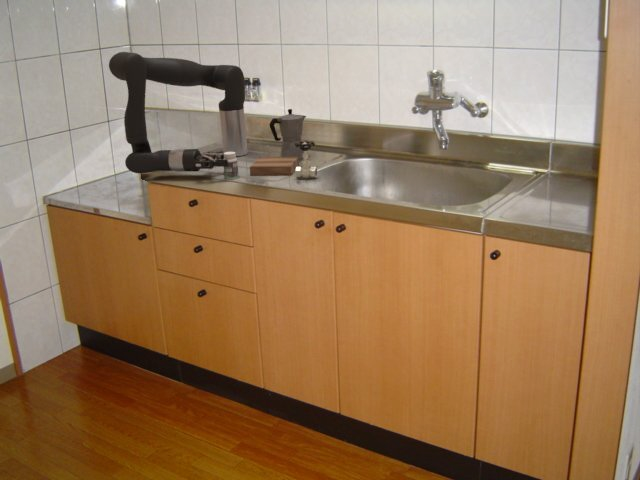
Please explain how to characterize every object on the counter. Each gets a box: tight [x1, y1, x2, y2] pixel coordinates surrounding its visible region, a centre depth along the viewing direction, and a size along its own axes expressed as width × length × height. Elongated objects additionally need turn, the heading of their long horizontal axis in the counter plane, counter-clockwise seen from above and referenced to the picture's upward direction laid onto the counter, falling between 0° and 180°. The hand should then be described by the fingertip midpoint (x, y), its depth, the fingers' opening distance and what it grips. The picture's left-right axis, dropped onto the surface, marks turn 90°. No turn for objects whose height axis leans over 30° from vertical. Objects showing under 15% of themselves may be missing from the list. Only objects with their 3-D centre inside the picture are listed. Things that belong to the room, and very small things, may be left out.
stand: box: [249, 156, 300, 177], centre depth 252 cm, size 14×14×3 cm
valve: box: [294, 140, 318, 180], centre depth 238 cm, size 7×7×12 cm
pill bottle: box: [223, 152, 240, 180], centre depth 245 cm, size 5×5×8 cm
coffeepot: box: [269, 108, 307, 161], centre depth 265 cm, size 15×9×18 cm, turn 125°
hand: (231, 159), depth 244 cm, fingers open, 8 cm apart
